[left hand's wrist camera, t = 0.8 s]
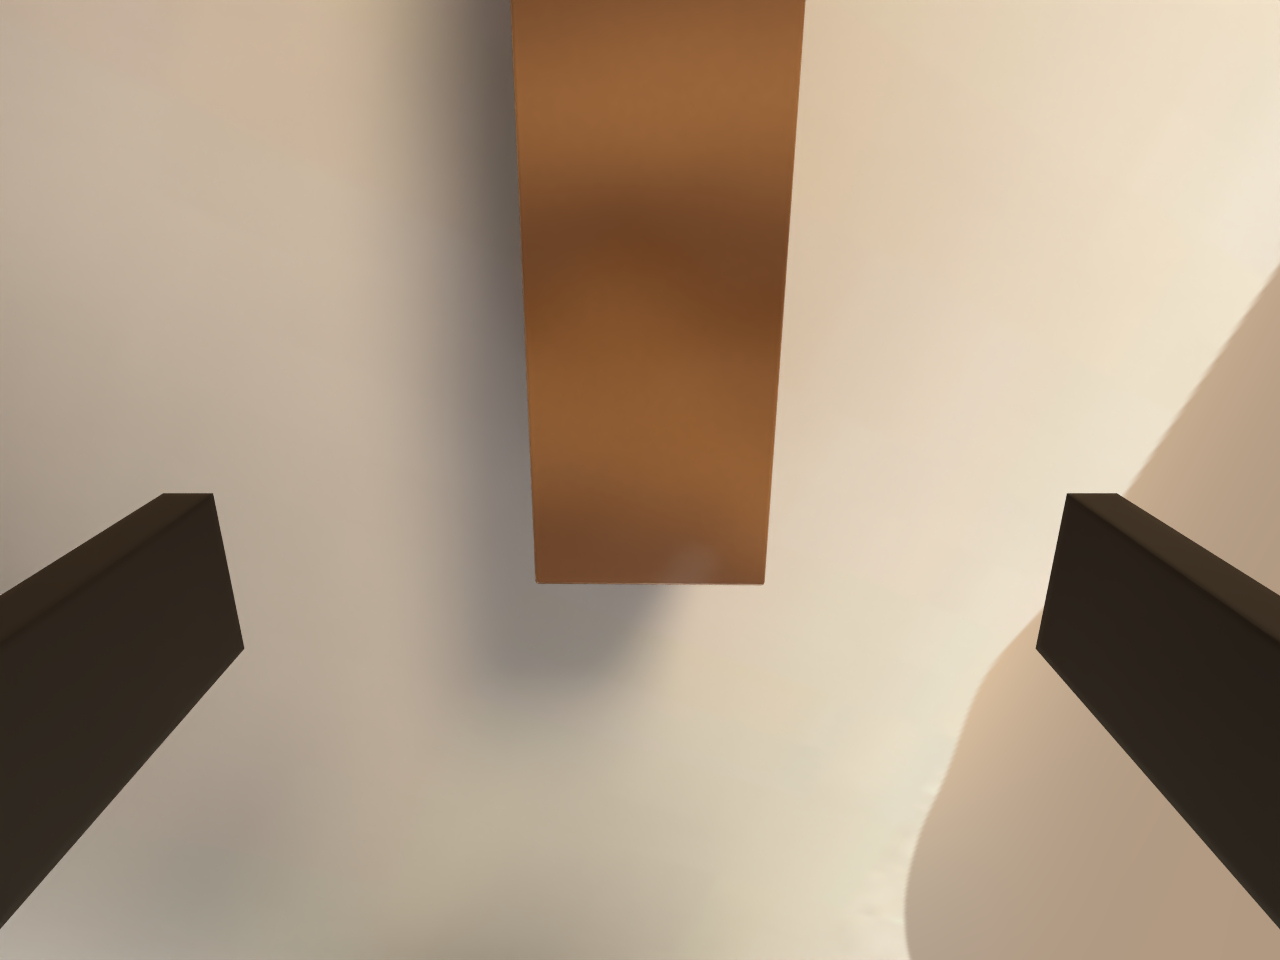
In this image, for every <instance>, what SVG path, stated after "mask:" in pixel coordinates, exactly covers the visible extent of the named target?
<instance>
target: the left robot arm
mask: <svg viewBox="0 0 1280 960" xmlns="http://www.w3.org/2000/svg"><path fill="white" fill-rule="evenodd" d="M243 649H244V645H243V640H242V635H241V630H240V625H239V620H238V615H237V610H236V605H235V600H234V595H233V590H232V585H231V580H230V575H229V570H228V565H227V560H226V555H225V550H224V546H223V541H222V536H221V531H220V526H219V521H218V516H217V511H216V506H215V501H214V496H213V493H163V494H161V495H160V496H158V497H157V498H155V499H154V500H152V501H150V502H149V503H147V504H146V505H144V506H142V507H141V508H139V509H138V510H136V511H134V512H133V513H131V514H130V515H128V516H126V517H125V518H123V519H122V520H120V521H118V522H117V523H115V524H114V525H112V526H111V527H109V528H107V529H106V530H104V531H103V532H101V533H99V534H98V535H96V536H95V537H93V538H91V539H90V540H88V541H87V542H85V543H83V544H82V545H80V546H79V547H77V548H75V549H74V550H72V551H71V552H69V553H67V554H66V555H64V556H63V557H61V558H60V559H58V560H56V561H55V562H53V563H52V564H50V565H48V566H47V567H45V568H44V569H42V570H40V571H39V572H37V573H36V574H34V575H32V576H31V577H29V578H28V579H26V580H24V581H23V582H21V583H20V584H18V585H17V586H15V587H13V588H12V589H10V590H9V591H7V592H5V593H4V594H2V595H1V596H0V929H1V927H2V926H3V925H4V924H5V923H6V922H7V921H8V919H9V918H10V917H11V916H12V915H13V914H14V913H15V911H16V910H17V909H18V908H19V907H20V906H21V904H22V903H23V902H24V901H25V900H26V899H27V898H28V896H29V895H30V894H31V893H32V892H33V891H34V890H35V888H36V887H37V886H38V885H39V884H40V883H41V882H42V880H43V879H44V878H45V877H46V876H47V875H48V873H49V872H50V871H51V870H52V869H53V868H54V867H55V865H56V864H57V863H58V862H59V861H60V860H61V859H62V857H63V856H64V855H65V854H66V853H67V852H68V850H69V849H70V848H71V847H72V846H73V845H74V844H75V842H76V841H77V840H78V839H79V838H80V837H81V836H82V834H83V833H84V832H85V831H86V830H87V829H88V828H89V826H90V825H91V824H92V823H93V822H94V821H95V819H96V818H97V817H98V816H99V815H100V814H101V813H102V811H103V810H104V809H105V808H106V807H107V806H108V805H109V803H110V802H111V801H112V800H113V799H114V798H115V797H116V795H117V794H118V793H119V792H120V791H121V790H122V788H123V787H124V786H125V785H126V784H127V783H128V782H129V780H130V779H131V778H132V777H133V776H134V775H135V774H136V772H137V771H138V770H139V769H140V768H141V767H142V765H143V764H144V763H145V762H146V761H147V760H148V759H149V757H150V756H151V755H152V754H153V753H154V752H155V751H156V749H157V748H158V747H159V746H160V745H161V744H162V743H163V741H164V740H165V739H166V738H167V737H168V736H169V734H170V733H171V732H172V731H173V730H174V729H175V728H176V726H177V725H178V724H179V723H180V722H181V721H182V720H183V718H184V717H185V716H186V715H187V714H188V713H189V712H190V710H191V709H192V708H193V707H194V706H195V705H196V703H197V702H198V701H199V700H200V699H201V698H202V697H203V695H204V694H205V693H206V692H207V691H208V690H209V689H210V687H211V686H212V685H213V684H214V683H215V682H216V681H217V679H218V678H219V677H220V676H221V675H222V674H223V672H224V671H225V670H226V669H227V668H228V667H229V666H230V664H231V663H232V662H233V661H234V660H235V659H236V658H237V656H238V655H239V654H240V653H241V652H242V651H243ZM1036 649H1037V651H1038V652H1039V653H1040V654H1041V655H1042V656H1043V657H1044V659H1045V660H1046V661H1047V662H1048V663H1049V664H1050V666H1051V667H1052V668H1053V669H1054V670H1055V671H1056V672H1057V674H1058V675H1059V676H1060V677H1061V678H1062V679H1063V681H1064V682H1065V683H1066V684H1067V685H1068V686H1069V687H1070V689H1071V690H1072V691H1073V692H1074V693H1075V694H1076V695H1077V697H1078V698H1079V699H1080V700H1081V701H1082V702H1083V703H1084V705H1085V706H1086V707H1087V708H1088V709H1089V710H1090V712H1091V713H1092V714H1093V715H1094V716H1095V717H1096V718H1097V720H1098V721H1099V722H1100V723H1101V724H1102V725H1103V726H1104V728H1105V729H1106V730H1107V731H1108V732H1109V733H1110V734H1111V736H1112V737H1113V738H1114V739H1115V740H1116V741H1117V743H1118V744H1119V745H1120V746H1121V747H1122V748H1123V749H1124V751H1125V752H1126V753H1127V754H1128V755H1129V756H1130V757H1131V759H1132V760H1133V761H1134V762H1135V763H1136V764H1137V766H1138V767H1139V768H1140V769H1141V770H1142V771H1143V772H1144V774H1145V775H1146V776H1147V777H1148V778H1149V779H1150V780H1151V782H1152V783H1153V784H1154V785H1155V786H1156V787H1157V788H1158V790H1159V791H1160V792H1161V793H1162V794H1163V795H1164V796H1165V798H1166V799H1167V800H1168V801H1169V802H1170V803H1171V805H1172V806H1173V807H1174V808H1175V809H1176V810H1177V811H1178V813H1179V814H1180V815H1181V816H1182V817H1183V818H1184V819H1185V821H1186V822H1187V823H1188V824H1189V825H1190V826H1191V828H1192V829H1193V830H1194V831H1195V832H1196V833H1197V834H1198V836H1199V837H1200V838H1201V839H1202V840H1203V841H1204V842H1205V844H1206V845H1207V846H1208V847H1209V848H1210V849H1211V850H1212V852H1213V853H1214V854H1215V855H1216V856H1217V857H1218V859H1219V860H1220V861H1221V862H1222V863H1223V864H1224V865H1225V866H1226V868H1227V869H1228V870H1229V871H1230V872H1231V873H1232V875H1233V876H1234V877H1235V878H1236V879H1237V880H1238V882H1239V883H1240V884H1241V885H1242V886H1243V887H1244V888H1245V890H1246V891H1247V892H1248V893H1249V894H1250V895H1251V896H1252V898H1253V899H1254V900H1255V901H1256V902H1257V903H1258V904H1259V906H1260V907H1261V908H1262V909H1263V910H1264V911H1265V912H1266V914H1267V915H1268V916H1269V917H1270V918H1271V919H1272V921H1273V922H1274V923H1275V924H1276V925H1277V926H1278V927H1279V929H1280V596H1279V595H1278V594H1276V593H1275V592H1273V591H1271V590H1270V589H1268V588H1267V587H1265V586H1263V585H1262V584H1260V583H1259V582H1257V581H1256V580H1254V579H1252V578H1251V577H1249V576H1248V575H1246V574H1244V573H1243V572H1241V571H1240V570H1238V569H1236V568H1235V567H1233V566H1232V565H1230V564H1228V563H1227V562H1225V561H1224V560H1222V559H1220V558H1219V557H1217V556H1216V555H1214V554H1212V553H1211V552H1209V551H1208V550H1206V549H1205V548H1203V547H1201V546H1200V545H1198V544H1197V543H1195V542H1193V541H1192V540H1190V539H1189V538H1187V537H1185V536H1184V535H1182V534H1181V533H1179V532H1177V531H1176V530H1174V529H1173V528H1171V527H1169V526H1168V525H1166V524H1165V523H1163V522H1161V521H1160V520H1158V519H1157V518H1155V517H1154V516H1152V515H1150V514H1149V513H1147V512H1146V511H1144V510H1142V509H1141V508H1139V507H1138V506H1136V505H1134V504H1133V503H1131V502H1130V501H1128V500H1126V499H1125V498H1123V497H1122V496H1120V495H1119V494H1117V493H1067V496H1066V501H1065V506H1064V511H1063V516H1062V521H1061V526H1060V531H1059V536H1058V541H1057V546H1056V550H1055V555H1054V560H1053V565H1052V570H1051V575H1050V580H1049V585H1048V590H1047V595H1046V600H1045V605H1044V610H1043V615H1042V620H1041V625H1040V630H1039V635H1038V640H1037V645H1036Z"/></svg>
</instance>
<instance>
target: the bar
mask: <svg viewBox="0 0 1280 960" xmlns="http://www.w3.org/2000/svg"><path fill="white" fill-rule="evenodd" d="M510 2H511V25H512V49H513V72H514V95H515V118H516V141H517V165H518V188H519V211H520V234H521V257H522V280H523V304H524V327H525V350H526V373H527V396H528V420H529V443H530V466H531V489H532V512H533V535H534V559H535V581H536V583H538V584H667V585H763V584H764V582H765V568H766V553H767V539H768V525H769V511H770V497H771V482H772V468H773V454H774V440H775V426H776V411H777V397H778V383H779V369H780V355H781V340H782V326H783V312H784V298H785V284H786V269H787V255H788V241H789V227H790V213H791V198H792V184H793V170H794V156H795V142H796V127H797V113H798V99H799V85H800V71H801V56H802V42H803V28H804V14H805V0H510Z"/></svg>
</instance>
